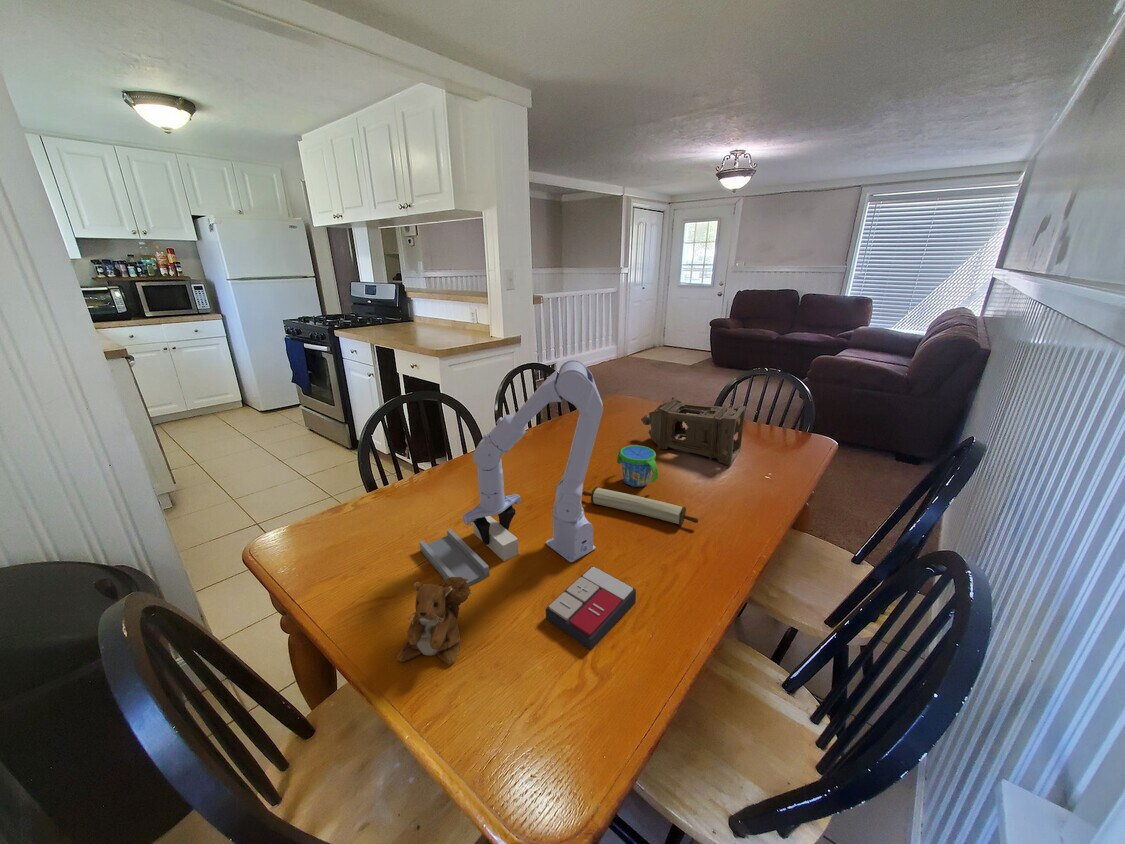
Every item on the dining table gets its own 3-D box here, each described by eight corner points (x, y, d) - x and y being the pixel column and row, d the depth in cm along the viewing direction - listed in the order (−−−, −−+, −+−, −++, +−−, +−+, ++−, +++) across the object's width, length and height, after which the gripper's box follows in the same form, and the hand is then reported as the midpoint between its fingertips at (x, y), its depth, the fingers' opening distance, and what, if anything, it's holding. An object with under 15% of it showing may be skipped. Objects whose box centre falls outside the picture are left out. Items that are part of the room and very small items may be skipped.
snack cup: (666, 489, 127) (669, 458, 124) (637, 498, 123) (639, 466, 119) (634, 468, 140) (636, 439, 137) (607, 475, 136) (608, 446, 132)
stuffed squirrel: (393, 666, 72) (381, 605, 68) (432, 604, 85) (424, 549, 81) (449, 676, 71) (440, 614, 66) (479, 611, 84) (474, 555, 79)
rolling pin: (699, 523, 111) (701, 507, 109) (695, 535, 106) (697, 518, 105) (586, 495, 125) (586, 480, 123) (578, 504, 120) (578, 488, 118)
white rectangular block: (518, 554, 100) (517, 538, 98) (504, 562, 97) (503, 545, 96) (487, 528, 110) (486, 513, 108) (473, 534, 107) (472, 518, 106)
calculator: (544, 605, 80) (592, 562, 91) (545, 622, 82) (592, 577, 92) (590, 637, 74) (637, 586, 84) (590, 654, 75) (636, 602, 86)
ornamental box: (632, 450, 160) (631, 405, 152) (651, 429, 173) (650, 387, 164) (729, 472, 141) (734, 422, 133) (742, 447, 154) (747, 400, 146)
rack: (489, 575, 93) (488, 566, 92) (455, 593, 88) (454, 583, 87) (451, 537, 106) (450, 528, 105) (420, 550, 101) (419, 541, 100)
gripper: (508, 472, 105) (511, 519, 110) (454, 492, 97) (459, 542, 102) (524, 483, 100) (526, 532, 105) (469, 505, 92) (474, 557, 96)
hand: (495, 538), depth 103 cm, fingers open, 4 cm apart
